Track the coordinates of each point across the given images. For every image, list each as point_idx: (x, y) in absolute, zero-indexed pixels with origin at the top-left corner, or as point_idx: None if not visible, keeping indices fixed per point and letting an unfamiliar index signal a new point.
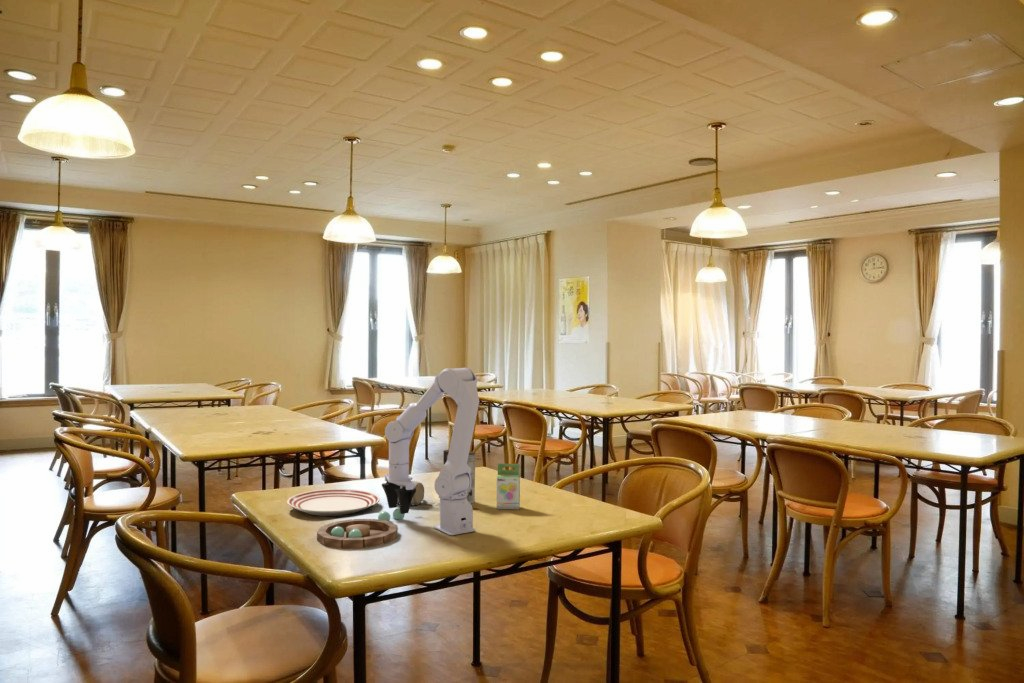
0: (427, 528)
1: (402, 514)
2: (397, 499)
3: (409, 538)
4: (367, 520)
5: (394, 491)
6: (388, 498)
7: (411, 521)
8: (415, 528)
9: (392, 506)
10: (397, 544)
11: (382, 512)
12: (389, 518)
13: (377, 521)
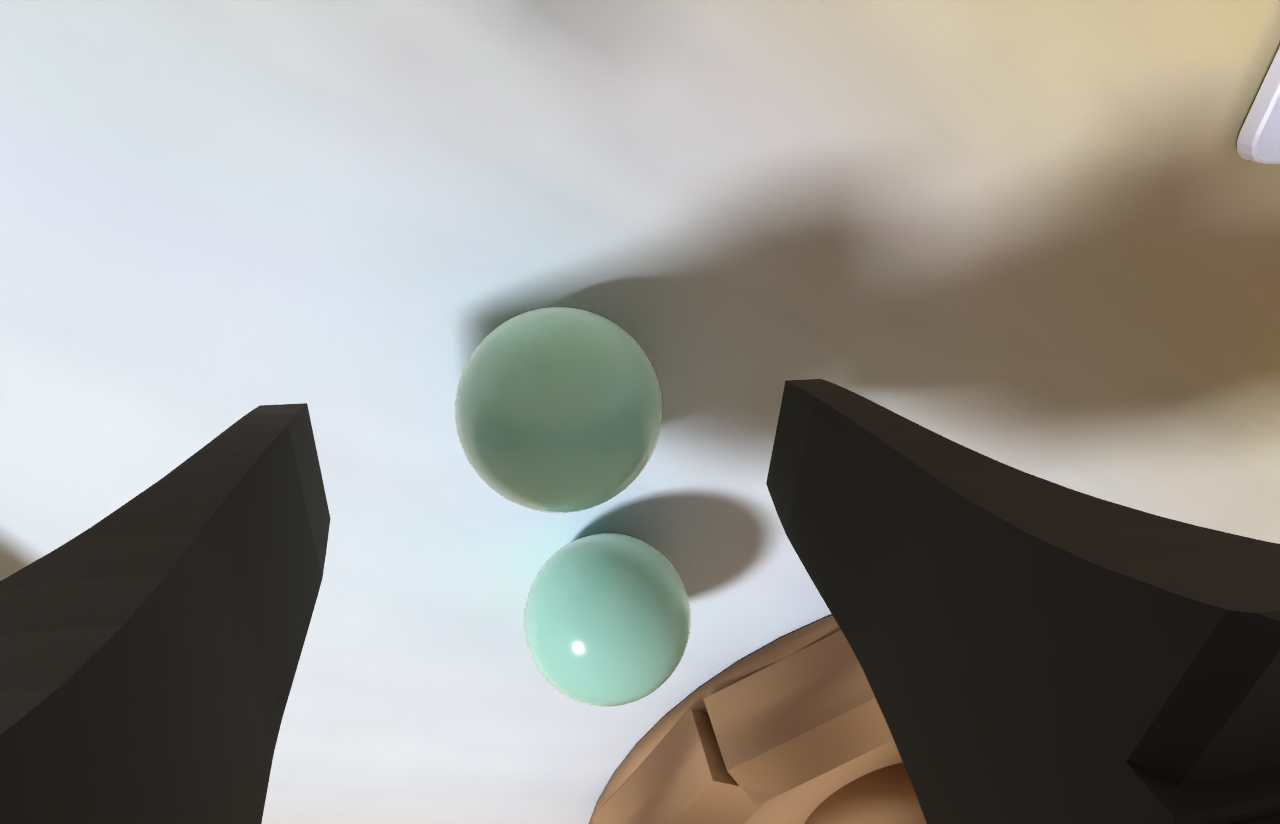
0: (1152, 221)
1: (660, 392)
2: (250, 473)
3: (1195, 522)
4: (744, 814)
5: (191, 732)
6: (283, 699)
7: (729, 235)
8: (1028, 345)
9: (316, 493)
10: None
11: (635, 700)
12: (674, 569)
13: (849, 755)
